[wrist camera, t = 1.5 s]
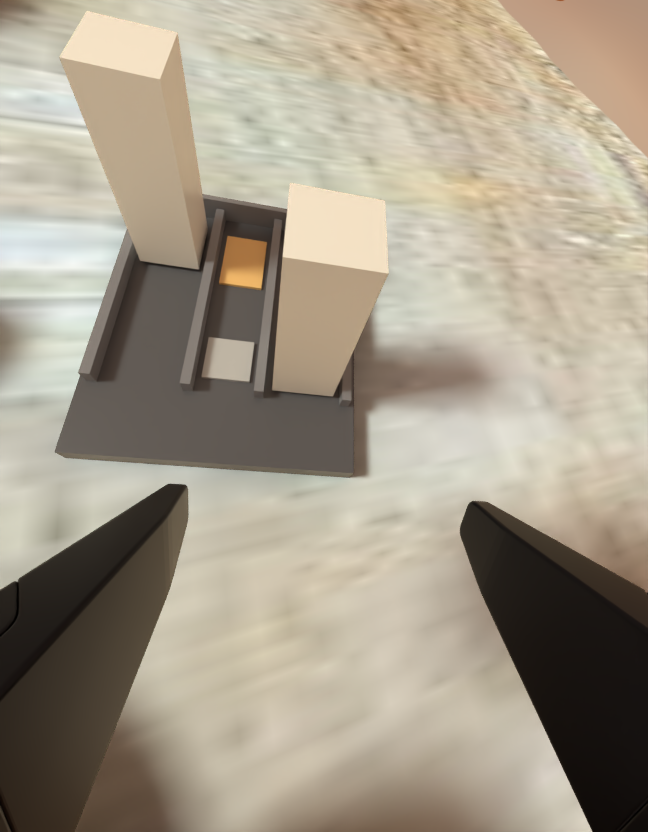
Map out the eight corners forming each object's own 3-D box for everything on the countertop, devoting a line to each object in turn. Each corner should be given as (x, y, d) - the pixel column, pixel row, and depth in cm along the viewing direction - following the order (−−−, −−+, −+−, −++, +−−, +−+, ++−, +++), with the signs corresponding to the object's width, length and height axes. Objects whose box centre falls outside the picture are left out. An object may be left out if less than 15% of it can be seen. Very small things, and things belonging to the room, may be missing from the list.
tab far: (199, 269, 25) (159, 79, 15) (140, 260, 25) (59, 57, 15) (207, 229, 27) (177, 32, 17) (152, 220, 26) (86, 10, 16)
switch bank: (349, 477, 23) (360, 467, 20) (65, 457, 21) (37, 443, 18) (350, 250, 31) (358, 221, 28) (143, 215, 28) (131, 181, 26)
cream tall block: (332, 396, 23) (388, 273, 13) (271, 390, 23) (282, 256, 13) (334, 345, 25) (385, 200, 15) (277, 338, 24) (290, 182, 14)
